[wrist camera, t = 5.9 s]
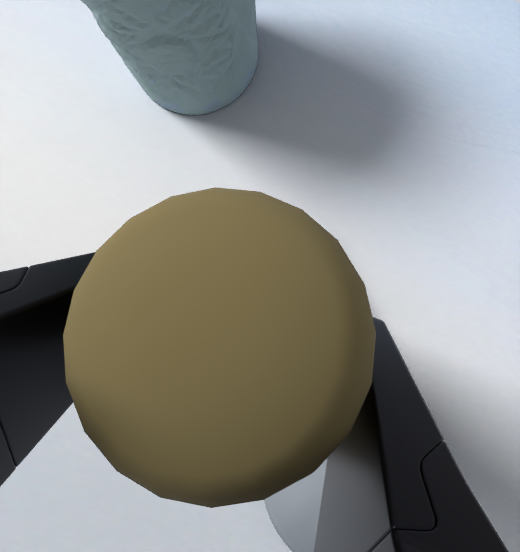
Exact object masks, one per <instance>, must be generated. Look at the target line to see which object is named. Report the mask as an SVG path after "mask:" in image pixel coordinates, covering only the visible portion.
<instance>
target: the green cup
mask: <svg viewBox="0 0 520 552" xmlns="http://www.w3.org/2000/svg"><path fill="white" fill-rule="evenodd" d="M81 1H82V2H83V3H85V4H86V5H87V6H88V8H89V9H90V10H91V11H92V12H93V15H94V18H95V19H96V21H97V23H98V25H99V27H100V29H101V30H102V32H103V33H104V34H105V36H106V37H107V38H108V39H109V40H110V42H111V44H112V45H113V47H114V48H115V49H116V51H117V52H118V54H119V55H120V56H121V57H122V59H123V61H124V63H125V65H126V66H127V67H128V69H129V70H130V71H131V73H132V74H133V76H134V77H135V78H136V80H137V81H138V83H139V84H140V85H141V87H142V88H143V89H144V91H145V92H146V93H147V95H148V96H149V97H150V98H151V99H152V100H153V101H154V102H156V103H157V104H158V105H160V106H162V107H164V108H166V109H168V110H170V111H173V112H177V113H181V114H187V115H202V114H207V113H211V112H214V111H216V110H219V109H221V108H223V107H225V106H227V105H229V104H230V103H232V102H233V101H234V100H236V99H237V98H238V97H239V96H240V95H241V94H242V93H243V92H244V91H245V89H246V88H247V86H248V85H249V83H250V82H251V80H252V78H253V76H254V73H255V70H256V66H257V62H258V39H257V31H256V9H255V0H81Z"/></svg>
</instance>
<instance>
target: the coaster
mask: <svg viewBox="0 0 520 552" xmlns="http://www.w3.org/2000/svg"><path fill="white" fill-rule="evenodd" d="M326 465H327V459H326V460H325V461H324V462H323V463H322V464H321V465H320V467H319V468H318V469H317V470H316V471H315V472H313V473H312V474H310V475H308V476H307V477H305V478H303V479H301V480H299V481H297V482H296V483H294V484H292V485H290V486H288V487H286V488H285V489H283V490H281V491H279V492H277V493H276V494H274V495H272V496H270V497H268V498H266V499H265V504H266V508H267V511H268V514H269V516H270V519H271V521H272V523H273V525H274V527H275V529H276V531H277V532H278V534H279V535H280V537H281V538H282V540H283V541H284V542H285V544H286V545H287V546H288V547H289V548H290V549H291V551H293V552H314V546H315V539H316V532H317V526H318V519H319V512H320V505H321V499H322V492H323V485H324V478H325V472H326Z"/></svg>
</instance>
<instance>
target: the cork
mask: <svg viewBox="0 0 520 552" xmlns="http://www.w3.org/2000/svg"><path fill="white" fill-rule="evenodd" d="M375 340H376V330H375V326H374V322H373V318H372V314H371V309H370V305H369V301H368V297H367V292H366V288H365V285H364V283H363V281H362V279H361V278H360V276H359V275H358V273H357V271H356V270H355V268H354V266H353V265H352V263H351V261H350V260H349V258H348V257H347V255H346V253H345V252H344V250H343V248H342V247H341V245H340V243H339V242H338V240H337V239H336V238H334V237H333V236H332V235H331V234H330V233H329V232H327V231H326V230H325V229H324V228H323V227H322V226H321V225H319V224H318V223H317V222H316V221H315V220H314V219H312V218H311V217H310V216H309V215H308V214H307V213H305V212H304V211H303V210H302V209H299V208H297V207H295V206H292V205H290V204H288V203H285V202H283V201H280V200H278V199H276V198H273V197H271V196H269V195H266V194H264V193H261V192H256V191H246V190H235V189H225V188H211V189H206V190H201V191H196V192H191V193H186V194H181V195H176V196H172V197H170V198H168V199H166V200H164V201H162V202H160V203H158V204H156V205H155V206H153V207H151V208H149V209H147V210H145V211H143V212H141V213H140V214H138V215H136V216H134V217H132V218H131V219H129V220H128V221H127V222H126V223H125V224H124V225H123V226H122V227H121V228H120V229H119V230H118V231H117V232H116V233H114V234H113V235H112V236H111V237H110V238H109V239H108V240H107V241H106V242H105V243H104V244H103V245H102V246H101V247H100V248H99V249H98V250H97V251H96V253H95V254H94V256H93V258H92V260H91V261H90V263H89V265H88V267H87V268H86V270H85V272H84V274H83V275H82V277H81V279H80V281H79V282H78V284H77V286H76V288H75V289H74V292H73V296H72V300H71V305H70V309H69V313H68V317H67V321H66V326H65V330H64V334H63V341H64V358H65V375H66V384H67V387H68V389H69V392H70V394H71V397H72V400H73V402H74V405H75V408H76V410H77V413H78V415H79V418H80V421H81V423H82V426H83V429H84V431H85V433H86V434H87V435H88V436H89V438H90V439H91V440H92V441H93V443H94V444H95V445H96V446H97V447H98V449H99V450H100V451H101V452H102V454H103V455H104V456H105V457H106V458H107V460H108V461H109V462H110V463H111V465H112V466H113V467H114V468H115V469H116V471H118V472H119V473H121V474H123V475H124V476H126V477H128V478H129V479H131V480H133V481H134V482H136V483H137V484H139V485H141V486H142V487H144V488H146V489H147V490H149V491H151V492H152V493H154V494H156V495H157V496H159V497H161V498H166V499H171V500H176V501H181V502H186V503H191V504H196V505H201V506H206V507H210V508H213V507H220V506H226V505H232V504H239V503H245V502H252V501H258V500H265V499H266V498H268V497H270V496H272V495H274V494H276V493H277V492H279V491H281V490H283V489H285V488H286V487H288V486H290V485H292V484H294V483H296V482H297V481H299V480H301V479H303V478H305V477H307V476H308V475H310V474H312V473H313V472H315V471H316V470H317V469H318V468H319V467H320V465H321V464H322V463H323V462H324V461H325V460H326V459H327V458H328V457H329V455H330V454H331V453H332V452H333V451H334V450H335V449H336V448H337V447H338V445H339V444H340V443H341V442H342V441H343V440H344V439H345V438H346V437H347V435H348V434H349V433H350V432H351V431H352V428H353V426H354V424H355V421H356V419H357V417H358V414H359V412H360V410H361V407H362V405H363V403H364V400H365V398H366V396H367V393H368V391H369V389H370V386H371V384H372V375H373V363H374V351H375Z"/></svg>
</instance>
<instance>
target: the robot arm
mask: <svg viewBox="0 0 520 552" xmlns="http://www.w3.org/2000/svg"><path fill="white" fill-rule="evenodd" d="M95 253H96V252H94V253H89V254H84V255H80V256H75V257H70V258H65V259H61V260H56V261H51V262H46V263H42V264H37V265H32V266H30V267H29V268H28V267H22V268H18V269H13V270H8V271H3V272H0V486H1V485H2V484H3V483H4V482H5V481H6V479H7V478H8V477H9V476H10V475H11V474H12V472H13V471H14V470H15V469H16V467H17V466H18V465H19V464H20V463H21V462H22V461H23V459H24V458H25V457H26V456H27V455H28V454H29V453H30V451H31V450H32V449H33V448H34V447H35V446H36V444H37V443H38V442H39V441H40V440H41V439H42V438H43V436H44V435H45V434H46V433H47V432H48V431H49V430H50V428H51V427H52V426H53V425H54V424H55V423H56V421H57V420H58V419H59V418H60V417H61V416H62V415H63V413H64V412H65V411H66V410H67V409H68V408H69V407H70V405H71V404H72V403H73V400H72V397H71V394H70V392H69V389H68V387H67V384H66V375H65V358H64V341H63V334H64V330H65V326H66V321H67V317H68V313H69V309H70V305H71V300H72V296H73V292H74V289H75V288H76V286H77V284H78V282H79V281H80V279H81V277H82V275H83V274H84V272H85V270H86V268H87V267H88V265H89V263H90V261H91V260H92V258H93V256H94V254H95ZM372 318H373V322H374V326H375V330H376V340H375V351H374V363H373V375H372V384H371V386H370V389H369V391H368V393H367V396H366V398H365V400H364V403H363V405H362V407H361V410H360V412H359V414H358V417H357V419H356V421H355V424H354V426H353V428H352V431H351V432H350V433H349V434H348V435H347V437H346V438H345V439H344V440H343V441H342V442H341V443H340V444H339V445H338V447H337V448H336V449H335V450H334V451H333V452H332V453H331V454H330V455H329V457H328V458H327V465H326V472H325V478H324V485H323V492H322V499H321V505H320V512H319V519H318V526H317V532H316V539H315V546H314V552H509V551H508V550H507V548H506V547H505V545H504V543H503V542H502V540H501V539H500V537H499V535H498V534H497V532H496V531H495V529H494V527H493V526H492V524H491V522H490V521H489V519H488V518H487V516H486V514H485V513H484V511H483V509H482V508H481V506H480V504H479V503H478V501H477V499H476V498H475V496H474V494H473V493H472V491H471V489H470V487H469V486H468V484H467V482H466V480H465V478H464V477H463V475H462V473H461V471H460V469H459V467H458V465H457V464H456V462H455V460H454V458H453V456H452V454H451V452H450V450H449V448H448V446H447V444H446V443H445V442H444V441H443V437H442V435H441V433H440V431H439V429H438V427H437V425H436V423H435V421H434V419H433V417H432V415H431V413H430V411H429V409H428V407H427V405H426V403H425V401H424V399H423V397H422V395H421V393H420V391H419V389H418V388H417V386H416V384H415V382H414V380H413V378H412V376H411V374H410V372H409V370H408V368H407V366H406V364H405V362H404V360H403V358H402V356H401V354H400V352H399V350H398V348H397V346H396V344H395V342H394V340H393V338H392V336H391V334H390V332H389V330H388V329H387V327H386V325H385V323H384V322H383V321H382V320H379V319H377V318H374V317H372ZM442 441H443V442H442Z"/></svg>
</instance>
